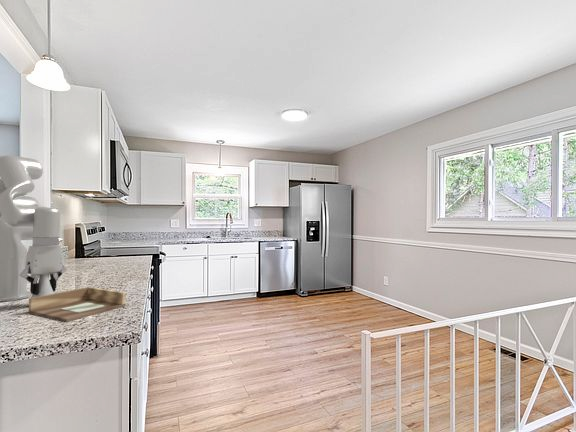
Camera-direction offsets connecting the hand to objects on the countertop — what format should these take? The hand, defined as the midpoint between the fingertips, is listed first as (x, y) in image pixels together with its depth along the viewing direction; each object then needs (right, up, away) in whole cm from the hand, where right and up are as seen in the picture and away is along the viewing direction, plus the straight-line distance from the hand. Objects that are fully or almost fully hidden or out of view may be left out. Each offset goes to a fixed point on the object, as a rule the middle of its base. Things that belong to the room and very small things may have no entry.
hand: (43, 292), depth 113 cm
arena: (+16, -5, -5) cm, 18 cm away
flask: (0, -3, 0) cm, 3 cm away
